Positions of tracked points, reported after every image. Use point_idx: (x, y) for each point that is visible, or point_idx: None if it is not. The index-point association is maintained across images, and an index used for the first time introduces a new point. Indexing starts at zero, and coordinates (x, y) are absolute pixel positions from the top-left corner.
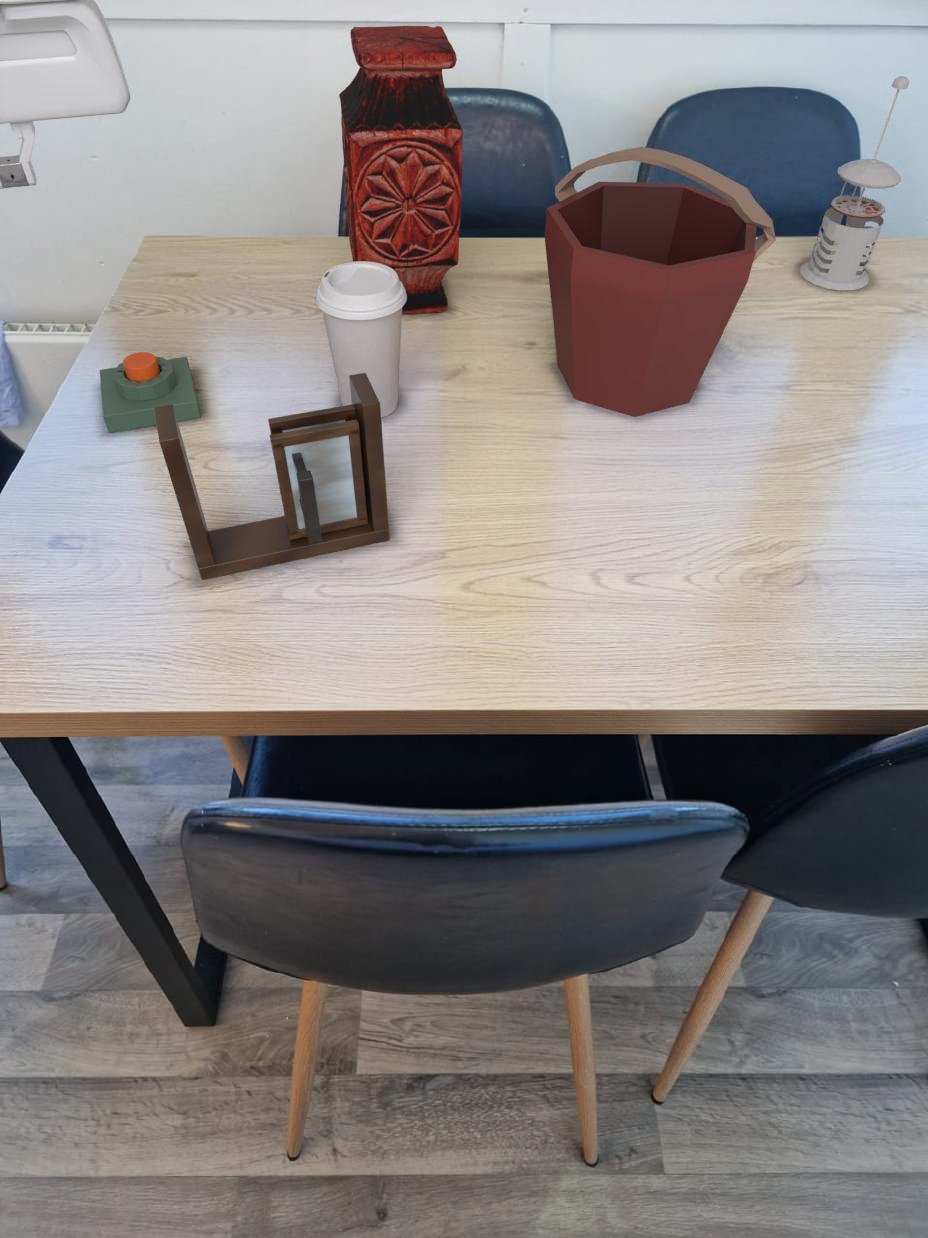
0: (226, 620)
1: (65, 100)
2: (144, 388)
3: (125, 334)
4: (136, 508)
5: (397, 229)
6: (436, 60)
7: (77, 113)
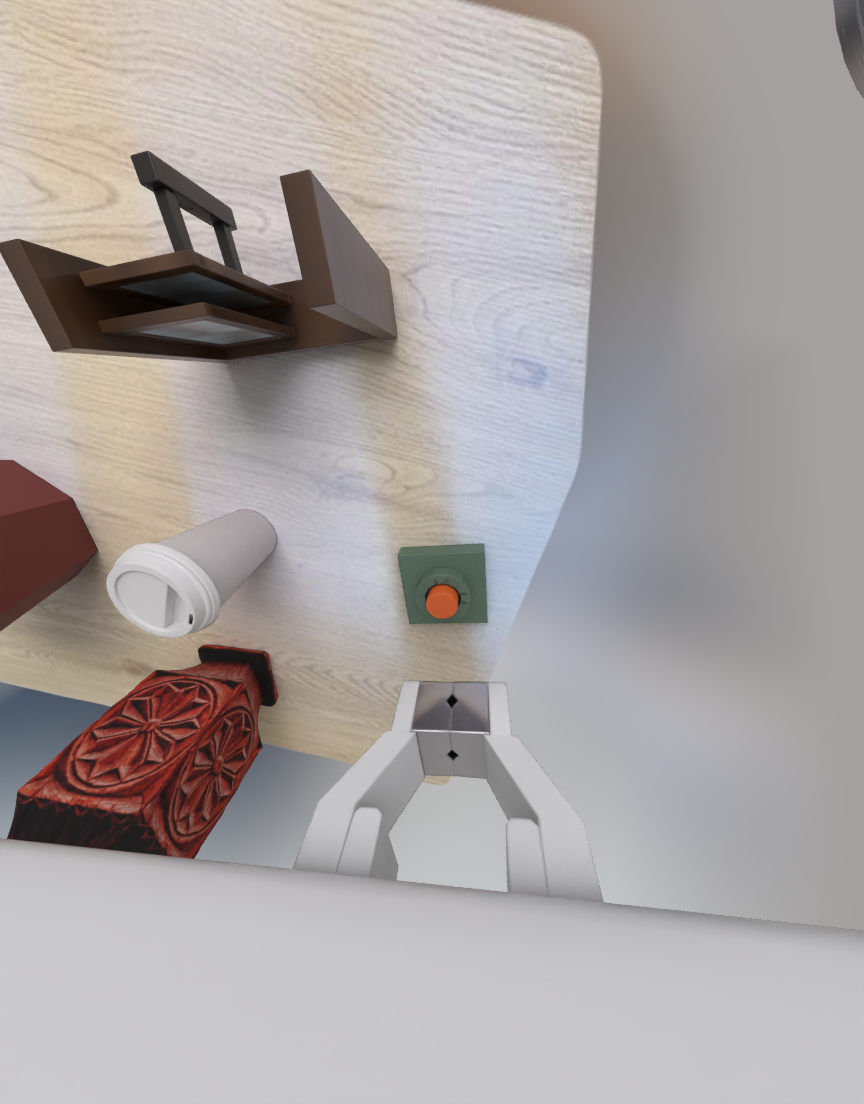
0: (359, 181)
1: (32, 946)
2: (441, 573)
3: (469, 676)
4: (458, 417)
5: (181, 707)
6: None
7: (76, 862)
